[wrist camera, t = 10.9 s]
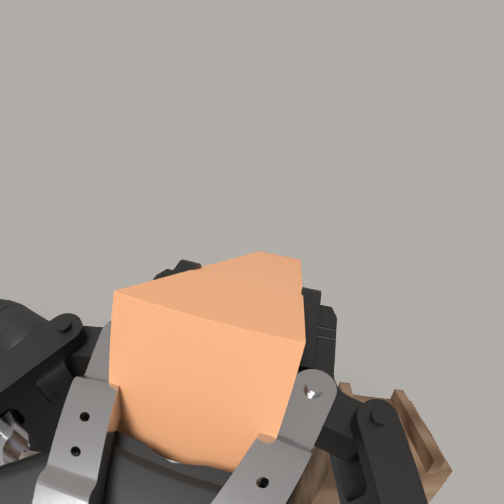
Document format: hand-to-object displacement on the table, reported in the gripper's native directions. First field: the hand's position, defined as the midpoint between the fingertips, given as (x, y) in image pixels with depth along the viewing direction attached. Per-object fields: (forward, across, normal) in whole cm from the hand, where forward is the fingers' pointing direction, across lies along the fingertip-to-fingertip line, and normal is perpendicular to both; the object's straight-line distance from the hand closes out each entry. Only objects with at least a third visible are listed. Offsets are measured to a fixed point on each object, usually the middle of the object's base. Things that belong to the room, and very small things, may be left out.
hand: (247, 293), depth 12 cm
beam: (+3, 0, +6) cm, 7 cm away
